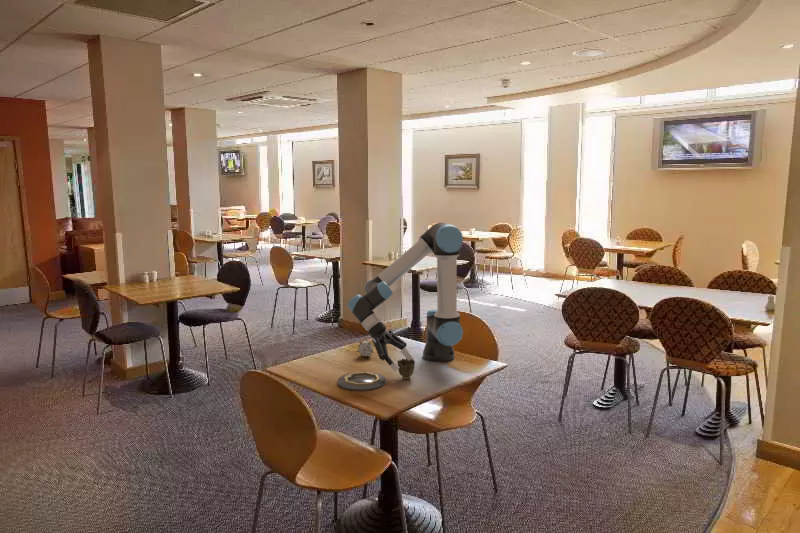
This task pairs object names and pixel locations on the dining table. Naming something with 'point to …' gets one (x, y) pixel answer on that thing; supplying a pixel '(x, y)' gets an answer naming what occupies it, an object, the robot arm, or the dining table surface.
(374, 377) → the carrier plate
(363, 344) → the game die
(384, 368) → the dining table surface
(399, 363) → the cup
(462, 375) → the dining table surface
